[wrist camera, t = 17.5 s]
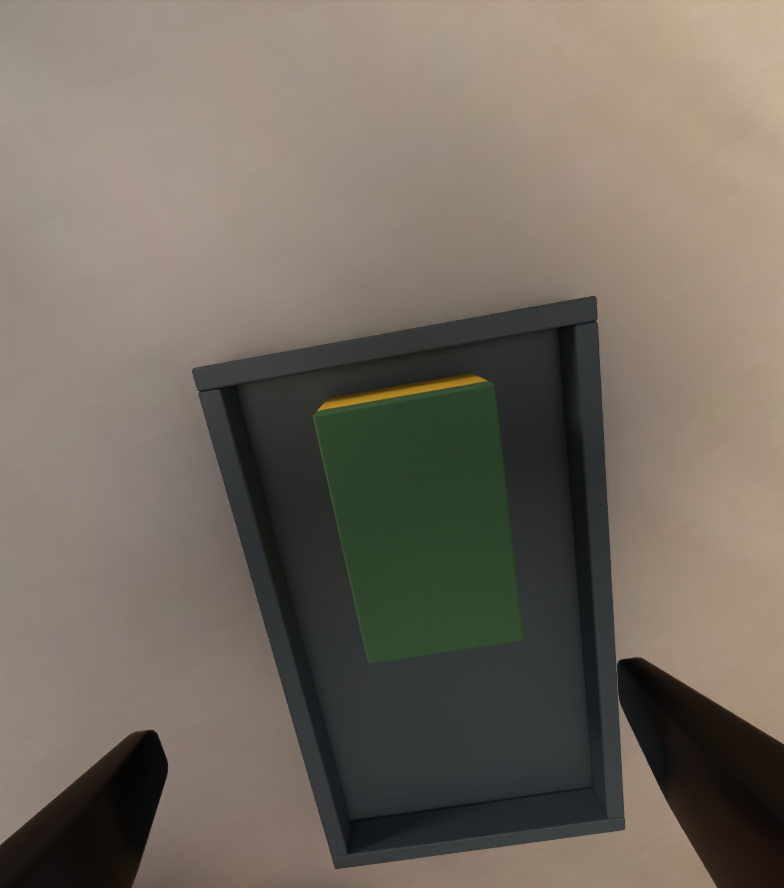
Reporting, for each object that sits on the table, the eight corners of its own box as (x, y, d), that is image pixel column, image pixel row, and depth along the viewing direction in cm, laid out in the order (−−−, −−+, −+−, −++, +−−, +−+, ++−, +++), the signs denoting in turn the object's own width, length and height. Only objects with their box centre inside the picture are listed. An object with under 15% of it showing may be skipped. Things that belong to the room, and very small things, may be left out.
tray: (603, 784, 22) (626, 830, 20) (339, 821, 22) (334, 870, 20) (570, 299, 16) (597, 295, 14) (214, 364, 17) (190, 368, 15)
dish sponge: (499, 584, 18) (524, 641, 15) (371, 604, 19) (367, 665, 15) (472, 372, 16) (495, 383, 13) (327, 397, 16) (311, 415, 13)
